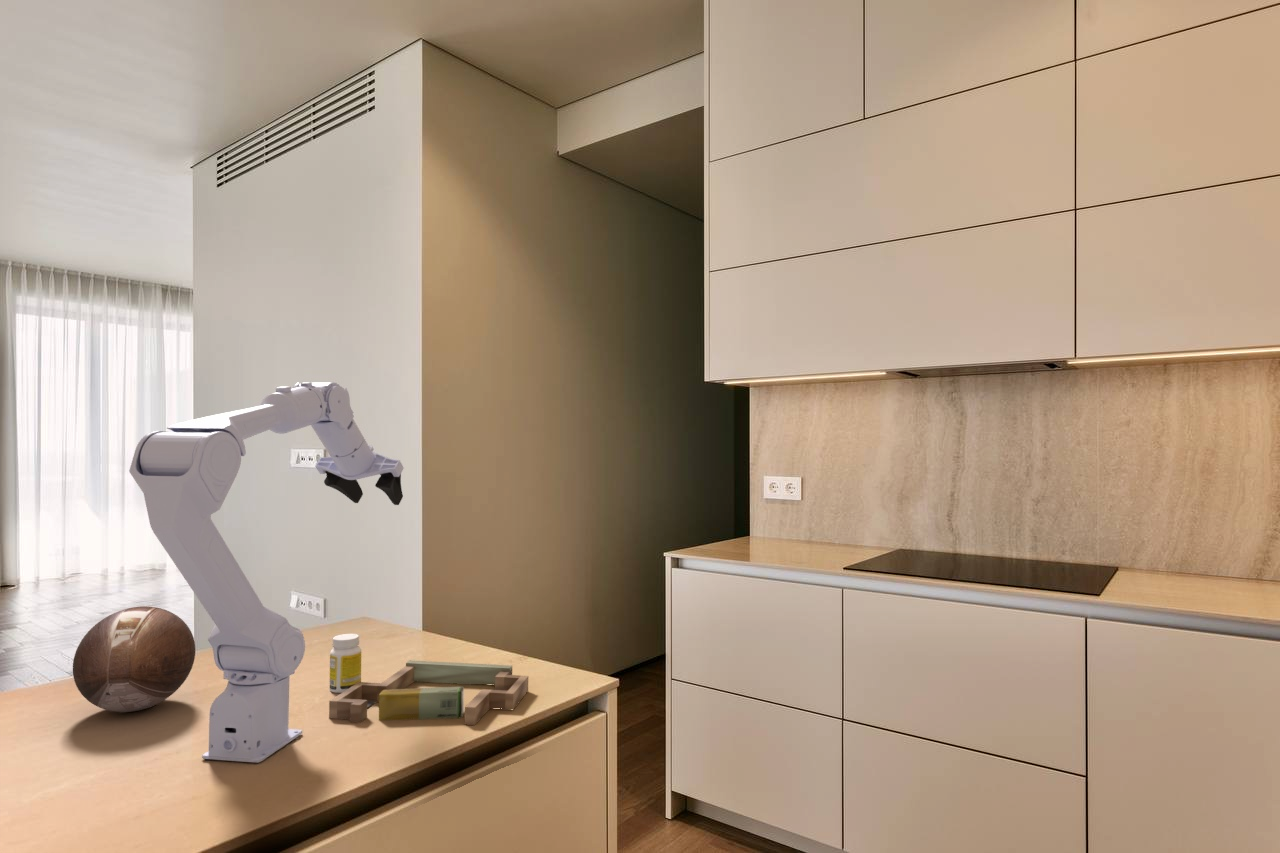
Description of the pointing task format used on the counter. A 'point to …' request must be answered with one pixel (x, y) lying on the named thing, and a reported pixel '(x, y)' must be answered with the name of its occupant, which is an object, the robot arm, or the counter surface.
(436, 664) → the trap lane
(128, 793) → the counter surface
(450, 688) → the medication box
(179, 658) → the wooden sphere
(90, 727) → the counter surface
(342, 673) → the supplement bottle
